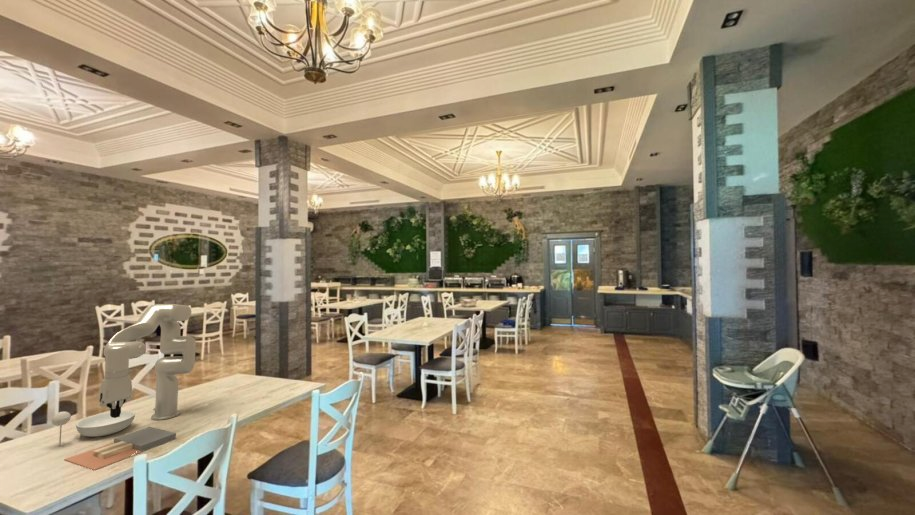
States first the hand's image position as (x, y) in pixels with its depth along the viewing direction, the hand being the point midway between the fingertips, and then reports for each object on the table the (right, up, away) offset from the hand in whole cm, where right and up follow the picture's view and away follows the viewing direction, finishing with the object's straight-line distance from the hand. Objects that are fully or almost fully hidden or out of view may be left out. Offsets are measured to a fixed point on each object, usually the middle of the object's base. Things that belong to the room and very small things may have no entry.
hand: (115, 416), depth 158 cm
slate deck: (+5, -16, +10) cm, 19 cm away
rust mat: (-1, -15, -4) cm, 15 cm away
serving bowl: (-23, -16, +19) cm, 34 cm away
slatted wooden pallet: (0, -15, -1) cm, 15 cm away
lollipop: (-30, -16, +5) cm, 34 cm away
